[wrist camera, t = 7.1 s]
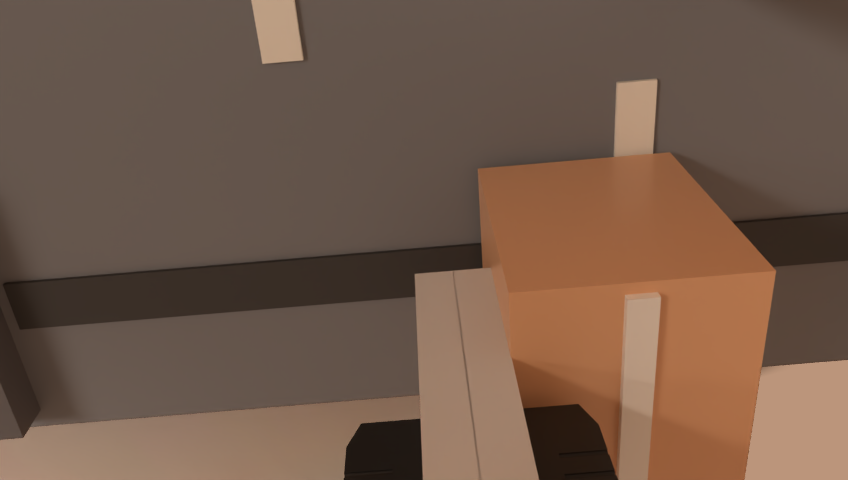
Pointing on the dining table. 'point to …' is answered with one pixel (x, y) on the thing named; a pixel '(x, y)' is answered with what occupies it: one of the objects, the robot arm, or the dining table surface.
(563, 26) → the console
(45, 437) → the dining table surface
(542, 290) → the terracotta fader knob
